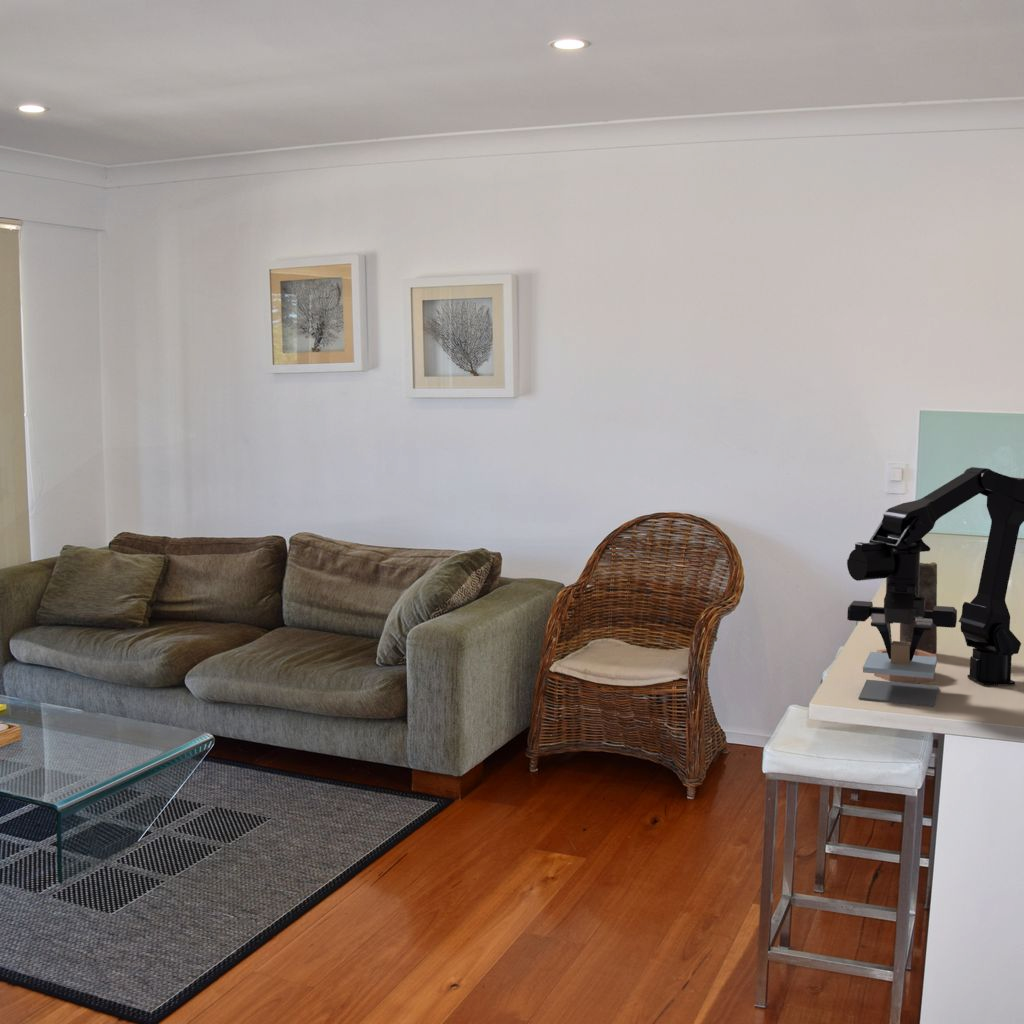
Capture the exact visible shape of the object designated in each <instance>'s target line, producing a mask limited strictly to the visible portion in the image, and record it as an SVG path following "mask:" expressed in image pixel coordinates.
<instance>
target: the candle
mask: <svg viewBox="0 0 1024 1024" xmlns="http://www.w3.org/2000/svg"><path fill="white" fill-rule="evenodd" d="M937 586H938V564H937V563H936V562H932V561H931V562H930V563H928V562H927V563H925V562H920V570H919V597H925V610H932V611H933V609H934V606H938V600H937V599H938V592H937V590H938V589H937V588H938V587H937ZM914 625H915V620H914V619H913V623H912V624H909V625H905V624H903V623H899V641H900V642H912V636H913V629H914ZM937 629H938V627H937V626H936V625H935V624H934V623H933V624H932V628H931V630H925V631H924V633H923V635H922V636H921V638H920V640H919V642H918V645H917V648H916V650H922V651H925V652H928V653H931V654H934V655H936V654H937V652H938V648H937V647H938V646H937V645H938V642H937V641H938V638H937V637H938V635H937V634H938V633H937V631H938V630H937Z"/></svg>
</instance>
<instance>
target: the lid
mask: <svg viewBox="0 0 1024 1024" xmlns="http://www.w3.org/2000/svg"><path fill="white" fill-rule="evenodd" d="M910 648H911V642H900V640H899V641H898V640H892V644H891V659H889V657H888V654H887V653H879V652H877V651H870V652H869V654H868V656H867V658H866V660H865V662H864V664H863V667H862V673H864V674H874V673H875V674H886V675H898V676H909V677H921V678H932V679H933V677H934V673H935V674H936V668H937V664H938V657H937V656H936V657H928V656H916V655H914V656H913V659H912V661H910Z"/></svg>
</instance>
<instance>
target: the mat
mask: <svg viewBox="0 0 1024 1024" xmlns="http://www.w3.org/2000/svg"><path fill="white" fill-rule="evenodd" d="M938 691H939V685H930V684H921V683H907V682H896V681H889V680H875V679H866V680H865V683H864V685H863V687H862V689H861V691H860V693H859V695H858V700H859V699H860V701H870V702H879V703H880V702H881V703H891V704H900V705H909V706H919V707H920V706H921V707H931V708H935V706H936V701H937V698H938Z"/></svg>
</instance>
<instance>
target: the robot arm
mask: <svg viewBox="0 0 1024 1024" xmlns="http://www.w3.org/2000/svg"><path fill="white" fill-rule="evenodd" d="M979 494H980V495H982V496H985V497H986V509H987V511H988V516H989V517H990V520H991V523H990V529H989V534H988V538H987V544H986V549H985V554H984V559H983V565H982V569H981V574H980V579H979V582H978V583H979V584H978V590H977V594H976V595H975V596H974V598H973V599H972V600H971V601H970V602H968V601H964V602H963V604H962V608H961V616H960V618H959V620H957V618H958V609H956V607H955V606H944V605H943V606H942V605H937V606H934V609H933V611H932V610H925V597H919V570H920V563H921V562H920V561H921V553H923V552H930V551H931V547H930V546H929V545H927V544H926V543H925V542H924V540H923V538H924V537H925V536H926V535H928V534H929V533H930V532H931V531H932V530H933V529H934V527H935V525H936V523H937V521H938V520H939V519H940V518H942V517H943V516H945V515H947V514H948V513H950V512H952V511H953V510H955V509H956V508H958V507H960V506H961V505H963V504H964V503H967V502H968V501H969V500H971V499H972V498H975V497H976V496H977V495H979ZM1023 523H1024V477H1023V478H1022V477H1013V476H1008V475H1005V474H1002V473H999V472H997V471H994V470H992V469H990V468H986V467H975V466H971V467H969V468H966V470H964V471H963V473H961V474H960V475H958V476H956V477H955V478H953V479H952V480H950V481H948V482H947V483H945V484H943V485H942V486H940V487H938V488H935V490H933V491H932V492H930V493H928V494H926V495H925V496H923V497H922V498H919V499H916V500H912V501H907V502H903V503H900V504H897V505H894V506H892V507H890V508H888V509H887V510H885V511H884V512H883V517H882V519H881V521H880V522H879V524H878V525H877V528H876V529H875V531H874V533H872V536H871V537H870V539H869V541H868V542H856V543H855V544H854V549H853V550H852V551H851V552H850V553H849V555H848V557H847V558H848V559H847V560H846V566H847V570H848V574H849V576H850V577H851V578H852V579H854V580H855V581H857V582H860V581H867V580H868V581H871V580H879V579H886V580H885V581H886V582H885V584H886V585H885V596H884V598H883V607H882V606H873V601H867V600H866V601H864V600H853V601H851V603H850V604H849V605H848V607H847V614H846V615H847V620H848V621H851V622H866V621H868V620H869V618H870V619H871V621H870V626H871V627H874V628H875V627H876V629H877V630H878V632H879V634H880V635H881V638H882V641H883V644H884V647H885V649H886V650H887V654H888V657H889V659H891V644H892V642H893V640H892V630H891V628H892V627H891V624H892V625H893V624H900V623H903V624H905V625H909V624H912V623H913V619H914V620H915V625H914V629H913V636H912V642H911V648H910V661H912V659H913V656H914V653H915V650H916V648H917V645H918V642H919V640H920V638H921V636H922V635H923V633H924V631H925V630H931V628H932V624H933V623H934V624H935V625H936V626H937V628H938V627H939V628H948V629H949V628H951V629H952V628H956V626H957V622H959V623H960V632H961V633H962V634H963V637H964V640H965V643H966V647H970V648H972V656H970V658H969V674H967V678H968V679H969V680H972V681H973V682H975V683H978V684H980V685H981V686H983V687H984V686H985V687H986V686H989V687H990V686H991V687H992V686H1008V685H1010V686H1011V685H1016V681H1015V680H1012V677H1011V676H1012V659H1013V658H1012V656H1014V655H1018V654H1019V653H1020V652H1019V651H1020V649H1021V645H1022V642H1021V641H1020V640H1019V639H1018V638H1017V636H1016V635H1015V633H1013V632H1012V631H1011V629H1010V628H1011V626H1010V625H1011V614H1010V611H1009V609H1008V605H1007V603H1006V596H1007V591H1008V588H1009V582H1010V576H1011V571H1012V567H1013V561H1014V556H1015V552H1016V547H1017V541H1018V536H1019V533H1020V527H1021V525H1022V524H1023Z"/></svg>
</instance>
